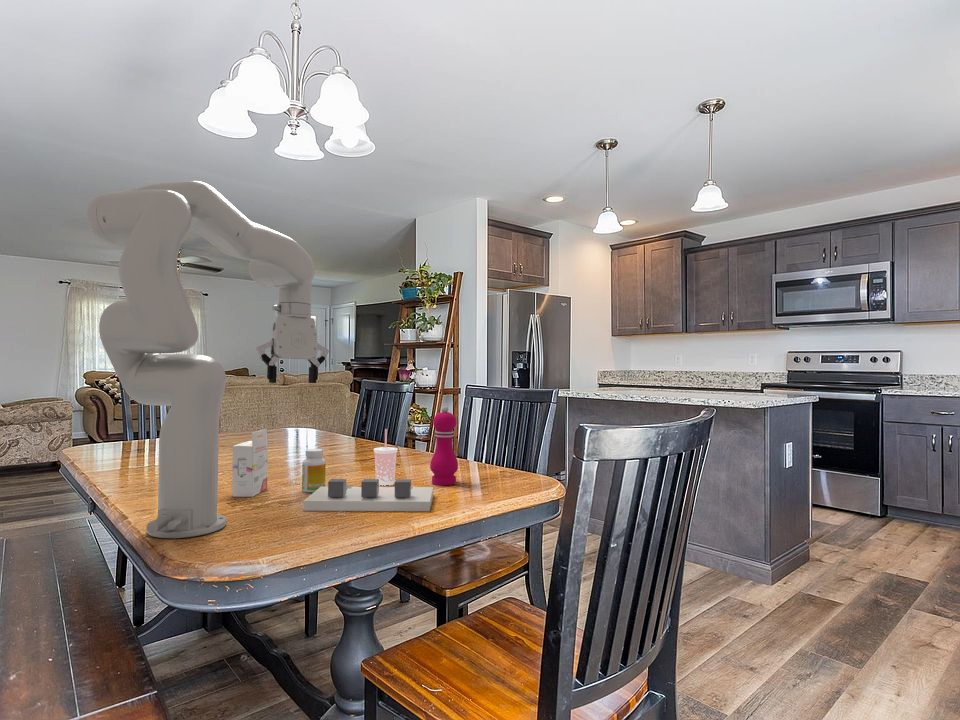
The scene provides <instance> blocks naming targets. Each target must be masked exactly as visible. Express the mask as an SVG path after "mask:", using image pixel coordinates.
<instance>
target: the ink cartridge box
mask: <svg viewBox="0 0 960 720" xmlns="http://www.w3.org/2000/svg"><path fill="white" fill-rule="evenodd" d="M259 436H261V437H259ZM258 437H259V438H258ZM268 439H269V438H268V429H267V428H264V429H260V430H256V431H253V432H251V440H248V441H245V442H240V443H238V444H234V445H232V479H231V481H232V486H231V487H232V492H231V493H232V494H231V495H232V497H236V498H237V497H238V498H240V497H243V498H245V497H246V498H253V497H255V496H257V495H258V494H261V493H262V492H263V491H266V490H267V489H268V466H269V465H268V462H269V461H268V458H269V457H268V455H269V454H268V453H269V452H268V450H269V448H268V447H269V445H268V444H269V441H268Z"/></svg>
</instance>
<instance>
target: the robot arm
mask: <svg viewBox="0 0 960 720" xmlns="http://www.w3.org/2000/svg"><path fill="white" fill-rule="evenodd" d="M85 218H86V223H87V225H88V228H89V229H90V231H91V232H92V234H94V235H95V236H96V237H97V238H98V239H100V240H102V241H103V242H106V243H109V244H112V245H124V248H123V249H122V253H121V255H120V258H119V262H118V263H119V264H118V277H119V281H120V284H121V288H122V290H123V293H124V295H125V298H126V299H121V300H117V301H115V302H113V303H111V304H109V305H107V306H106V308H105V309H104V310H103V311H102V313H101V315H100V318H99V325H98V333H99V339H100V340H101V344H102V346H103V349H104V351H105V353H106V356H107V357H108V359H109V361H110V363H111V366H112V367H113V370H114V372H115V374H116V375H117V378H118V380H119V382H120V384H121V386H122V388H123V389H124V391H125V392H126V394H127V395H128V396H129V398H131V399H132V400H133V401H135V402H136V403H138V404H140V405H146V406H159V407H160V406H161V407H162V406H165V407H170V408H169V410H168V412H167V414H166V416H165V417H164V419H163V421H162V424H161V425H160V430H159V435H158V437H159V441H158V442H159V443H158V444H159V445H158V446H159V449H158V487H157V491H158V493H157V517H156V518H155V519H154V520H152V521H149V522H148V523H147V524H146V534H147V535H149V536H151V537H154V538H159V539H181V538H193V537H198V536H203V535H207V534H212V533H214V532H217V531H219V530H221V529H223V528H224V527H225V526H226V525H227V517H225V516H224V515H222V514H218V490H219V489H218V484H219V482H218V479H219V446H220V445H219V436H220V435H219V434H220V433H219V432H220V431H219V430H220V417H221V409H222V408H221V407H222V404H223V403H222V402H223V398H224V394H225V390H226V385H227V375H226V374H227V373H226V372H225V369H224V367H223V365H222V364H221V362H219V361H218V360H217V359H215V358H213V357H211V356H210V355H209V356H208V355H204V354H198V353H196V354H195V353H183V352H186V351H188V350H189V349H191V348H193V347H194V346H195V345H196V343H197V342H198V339H199V330H198V329H199V328H198V327H199V326H198V324H197V322H196V318H195V315H194V313H193V310H192V307H191V305H190V303H189V299H188V297H187V294H186V291H185V289H184V286H183V283H182V280H181V277H180V274H179V270H178V257H179V252H180V250H181V246H182V244H183V241H184V240H185V238H186V236H187V235H188V234H187V233H188V232H189V230H191V231H194V232H195V233H197V234H198V235H199V236H200V237H202V238H203V239H205V241H207V242H208V243H210V244H211V245H213V246H214V247H215V248H217V249H218V250H219V251H221V252H222V253H223V254H225V255H227V256H230V257H233V258H237V259H241V260H246V261H250V262H249V264H248V273H249V276H250V277H251V279H252V280H253V281H254V282H255V283H256V284H258V285H259V286H263V287H268V288H269V287H270V288H271V287H273V288H278V303H277V304H275V305H274V304H273V305H272V306H271V309H272V311H273V312H276V314H277V315H276V316H275V318H274V322H273V324H272V325H273V326H272V330H271V331H272V332H271V339H270V340H268V341H266V342H264V343H262V344H259V345H257V346H256V347H255V350H256V352H257V353H258V355H259V358H260V360H261V361H262V362H264V363H265V365H266V366H267V369H266V370H267V371H266V372H267V373H266V378H267V380H268V383H269V384H275V383H277V370H278V369H277V368H278V367H277V365H276V363H277V362H278V361H279V360H280V359H292V360H293V359H294V360H306V361H307V362H308V363H309V365H310V366H309V367H308V383H309V384H316V383H317V380H318V379H319V368H320V366H321V364H322V363H323V362H325V360H326V357H328V354H329V353H330V351H329V349H328V348H326V347H325V346H323V345H321V344H320V343H318V335H317V334H318V333H317V326H316V321H315V318H313V317H312V293H313V292H312V289H313V287H312V286H313V285H312V283H313V278H314V276H315V273H316V272H315V271H316V270H315V268H316V267H315V264H314V261H313V259H312V257H311V256H310V254H309V253H308V252H307V251H306V250H305V249H304V247H302V246H301V245H300V244H299V243H298V242H297V241H295V240H294V239H293V238H292V237H290V236H287V235H285V234H283V233H280V232H279V231H276V230H274V229H271V228H269V227H267V226H264V225H262V224H259V223H256V222H254V221H252V220H251V219H249V218H248V217H247V216H245V215H244V213H242V212H241V211H240V210H239V209H237V207H236V206H234V205H233V204H232V203H231V202H230V201H229V200H228V199H227V198H226V197H224V196H223V195H222V194H221V193H220V192H219V191H217V189H216V188H214V187H213V186H212V185H210V184H208V183H206V182H204V181H199V180H185V181H183V180H181V181H175V182H174V181H173V182H159V183H155V184H149V185H145V186H139V187H138V186H137V187H135V188H129V189H122V190H116V191H110V192H104V193H101V194H98V195H96V196H94V198H92V199H91V200H90V202H89V203H88V206H87V207H86V211H85ZM268 348H270V355H271V356H268V355H267V353H266V351H265V350H266V349H268ZM181 352H182V353H181ZM318 352H320V354H319V356H318ZM317 356H318V357H317Z"/></svg>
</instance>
